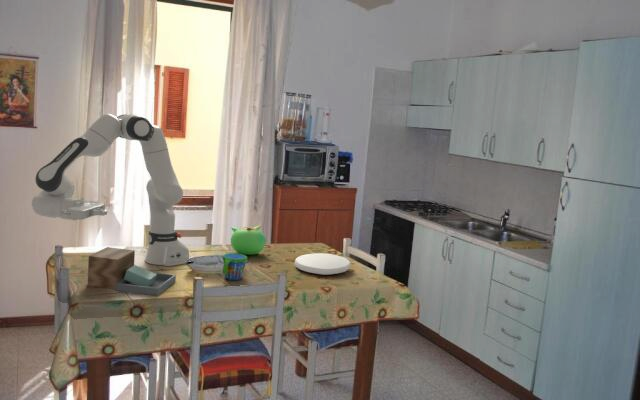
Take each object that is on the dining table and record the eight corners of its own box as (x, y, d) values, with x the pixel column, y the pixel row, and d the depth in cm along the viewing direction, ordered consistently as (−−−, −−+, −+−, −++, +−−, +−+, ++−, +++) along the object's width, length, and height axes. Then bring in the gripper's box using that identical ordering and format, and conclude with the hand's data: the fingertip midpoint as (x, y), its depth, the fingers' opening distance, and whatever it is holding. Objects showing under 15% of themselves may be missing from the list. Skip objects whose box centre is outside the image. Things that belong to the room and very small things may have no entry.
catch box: (115, 290, 235) (115, 283, 235) (136, 277, 255) (136, 270, 255) (157, 296, 234) (158, 288, 233) (175, 281, 253) (175, 275, 253)
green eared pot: (231, 257, 301) (233, 228, 299) (228, 249, 317) (230, 221, 315) (266, 258, 305) (269, 230, 303) (262, 250, 321) (264, 223, 319)
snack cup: (234, 272, 276) (235, 250, 274) (253, 277, 271) (255, 255, 269) (212, 279, 262) (214, 256, 260) (232, 284, 257) (233, 261, 255)
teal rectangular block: (126, 270, 240) (149, 279, 239) (134, 265, 248) (157, 274, 247) (123, 279, 241) (146, 288, 240) (131, 273, 248) (154, 283, 248)
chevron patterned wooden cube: (87, 285, 238) (88, 256, 237) (106, 274, 254) (107, 247, 252) (116, 289, 237) (118, 259, 235) (133, 278, 253) (134, 250, 251)
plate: (328, 270, 276) (283, 258, 291) (328, 284, 277) (283, 271, 292) (361, 255, 298) (317, 245, 313) (360, 268, 300) (317, 257, 315)
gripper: (59, 204, 232) (93, 209, 231) (85, 198, 252) (116, 201, 251) (58, 221, 233) (93, 225, 232) (84, 212, 253) (116, 216, 252)
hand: (105, 213), depth 242 cm, fingers closed
